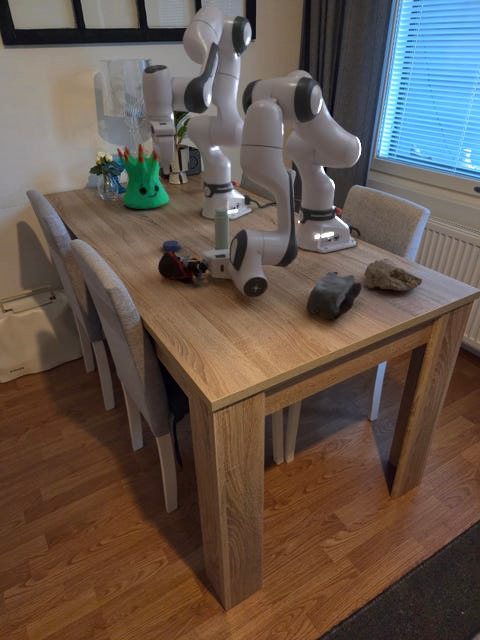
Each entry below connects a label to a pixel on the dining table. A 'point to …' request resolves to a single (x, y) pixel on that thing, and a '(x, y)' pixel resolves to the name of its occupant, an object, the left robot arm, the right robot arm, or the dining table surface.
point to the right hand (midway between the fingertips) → (228, 247)
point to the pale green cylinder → (221, 228)
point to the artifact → (389, 276)
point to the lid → (170, 246)
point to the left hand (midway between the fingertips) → (164, 170)
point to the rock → (333, 295)
